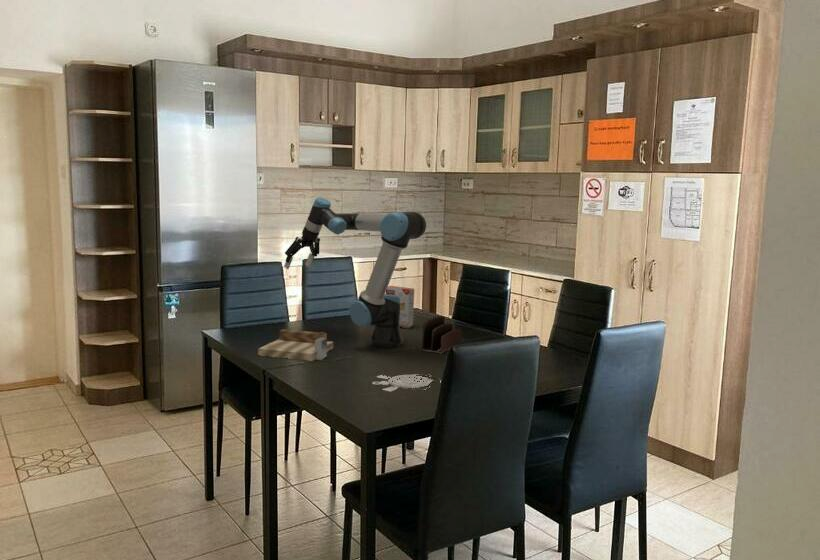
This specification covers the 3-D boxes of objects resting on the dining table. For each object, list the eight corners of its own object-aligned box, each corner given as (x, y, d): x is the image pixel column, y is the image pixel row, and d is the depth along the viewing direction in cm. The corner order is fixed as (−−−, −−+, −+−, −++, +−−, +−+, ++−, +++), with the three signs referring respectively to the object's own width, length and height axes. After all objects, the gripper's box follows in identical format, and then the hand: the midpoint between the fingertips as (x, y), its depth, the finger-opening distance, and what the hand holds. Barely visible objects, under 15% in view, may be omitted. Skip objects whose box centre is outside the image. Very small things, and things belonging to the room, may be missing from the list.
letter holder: (421, 351, 296) (422, 320, 294) (441, 343, 313) (443, 314, 311) (441, 354, 291) (442, 323, 289) (461, 346, 308) (462, 316, 306)
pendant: (453, 392, 238) (453, 388, 238) (375, 393, 233) (376, 389, 233) (440, 375, 259) (440, 372, 259) (368, 376, 254) (368, 373, 254)
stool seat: (333, 348, 294) (333, 341, 294) (312, 361, 271) (312, 354, 271) (283, 343, 300) (283, 337, 300) (258, 355, 277) (258, 348, 277)
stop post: (326, 356, 279) (327, 338, 278) (321, 360, 274) (321, 341, 273) (319, 356, 280) (320, 337, 279) (314, 359, 274) (314, 340, 273)
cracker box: (384, 326, 347) (385, 286, 345) (389, 324, 353) (391, 285, 350) (407, 329, 341) (409, 289, 338) (413, 327, 346) (414, 287, 344)
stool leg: (328, 342, 293) (328, 331, 292) (324, 344, 289) (324, 333, 288) (283, 337, 298) (283, 327, 297) (279, 339, 294) (279, 329, 293)
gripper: (326, 224, 323) (311, 261, 331) (287, 225, 303) (272, 264, 312) (335, 232, 320) (320, 269, 328) (297, 233, 300) (281, 272, 308)
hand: (296, 266), depth 320 cm, fingers open, 13 cm apart
